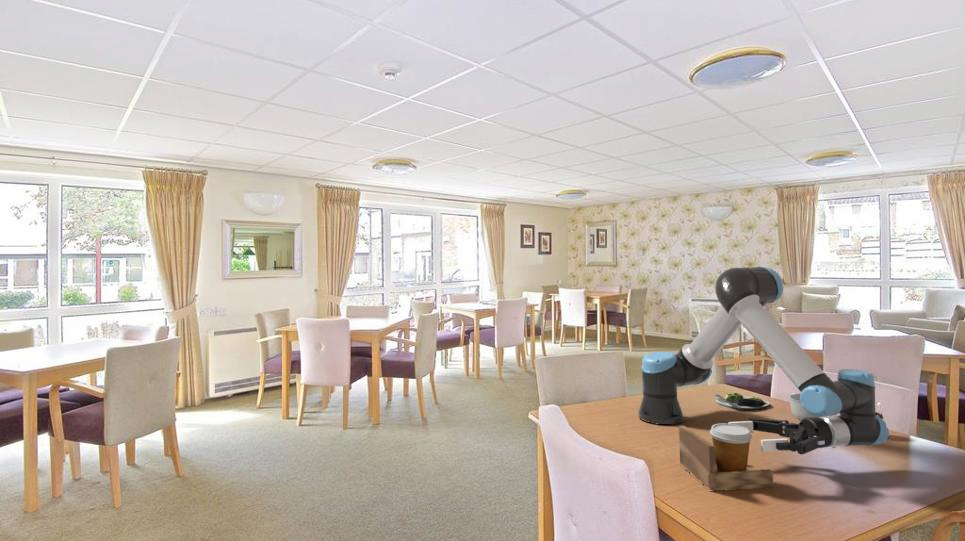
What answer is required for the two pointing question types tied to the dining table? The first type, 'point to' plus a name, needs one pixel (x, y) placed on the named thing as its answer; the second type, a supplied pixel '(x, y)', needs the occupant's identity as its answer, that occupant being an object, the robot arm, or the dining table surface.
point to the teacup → (799, 407)
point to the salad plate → (742, 402)
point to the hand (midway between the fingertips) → (744, 436)
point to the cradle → (703, 466)
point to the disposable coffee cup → (731, 447)
